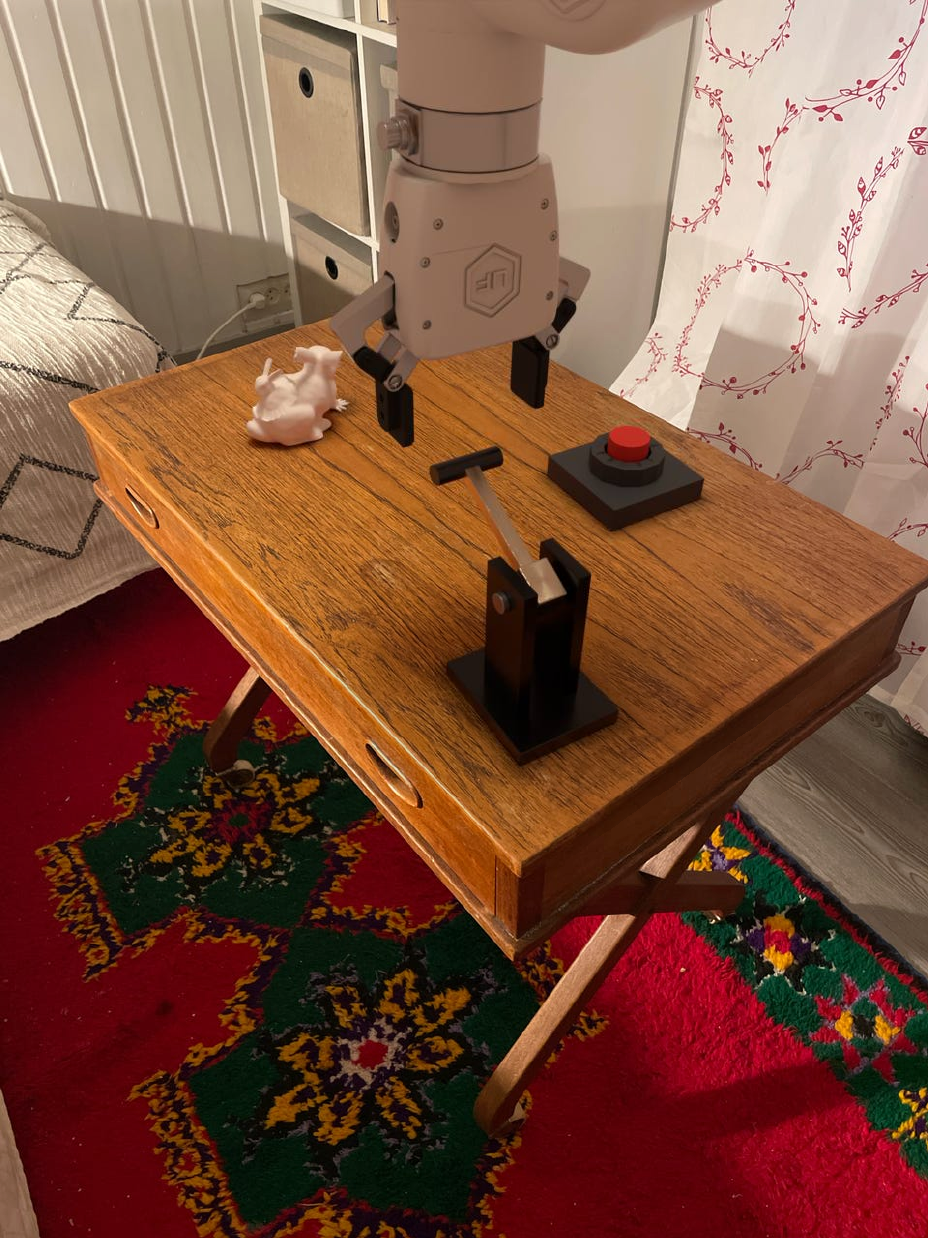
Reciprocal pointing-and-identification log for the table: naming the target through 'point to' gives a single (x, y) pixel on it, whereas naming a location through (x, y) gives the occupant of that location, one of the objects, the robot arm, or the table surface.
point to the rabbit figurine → (297, 398)
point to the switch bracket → (533, 662)
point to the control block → (624, 482)
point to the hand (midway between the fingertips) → (464, 417)
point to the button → (628, 444)
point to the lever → (501, 522)
